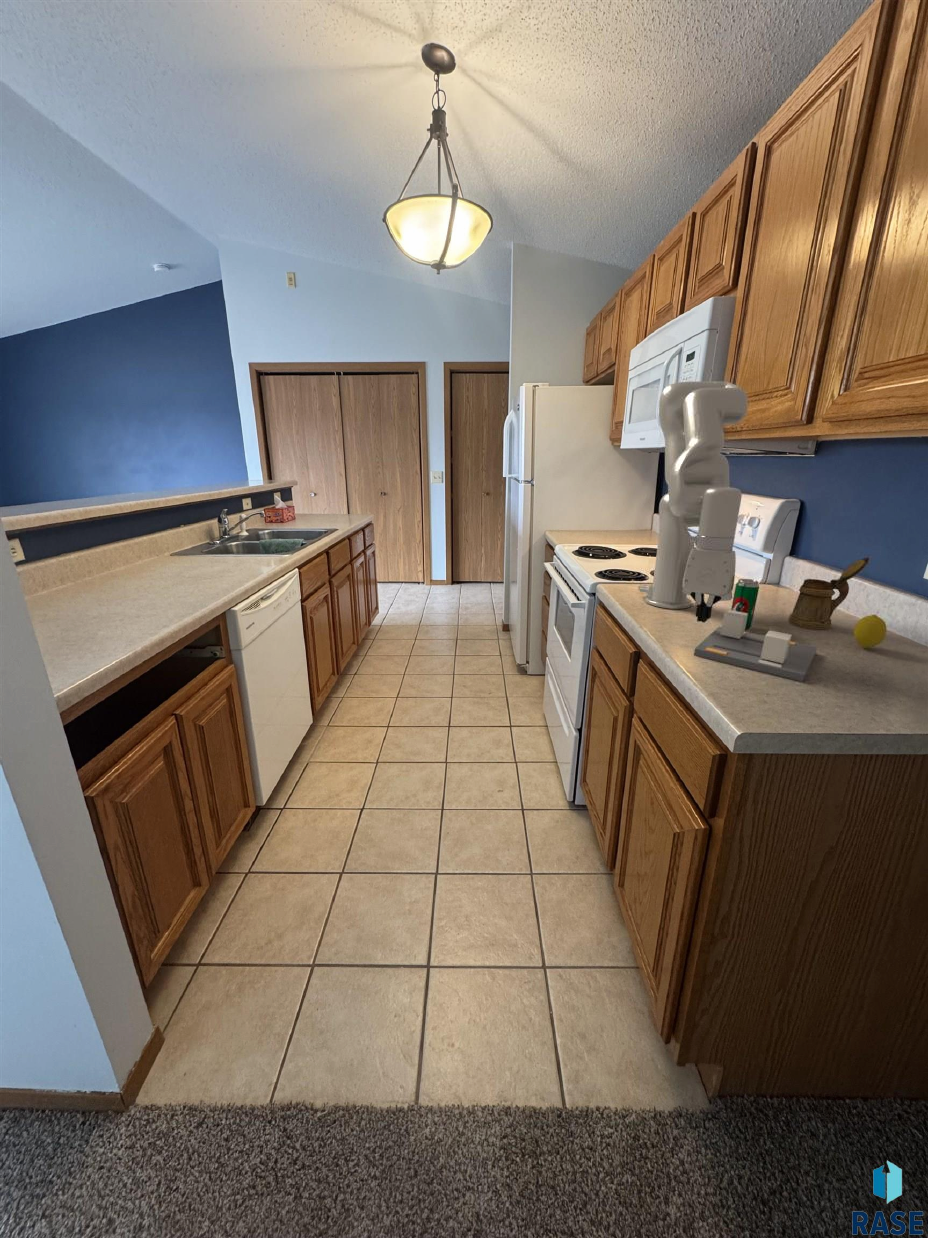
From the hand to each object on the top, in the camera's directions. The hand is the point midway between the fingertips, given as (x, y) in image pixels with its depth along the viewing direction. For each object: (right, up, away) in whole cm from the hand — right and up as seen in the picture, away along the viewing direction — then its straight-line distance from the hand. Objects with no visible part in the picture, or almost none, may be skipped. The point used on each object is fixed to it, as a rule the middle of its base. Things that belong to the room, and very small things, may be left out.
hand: (702, 620), depth 118 cm
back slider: (+5, -3, -3) cm, 7 cm away
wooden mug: (+34, -1, +9) cm, 35 cm away
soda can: (+13, -2, +7) cm, 15 cm away
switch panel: (+7, -7, -10) cm, 14 cm away
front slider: (+7, -8, -16) cm, 19 cm away
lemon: (+34, -6, -6) cm, 35 cm away
